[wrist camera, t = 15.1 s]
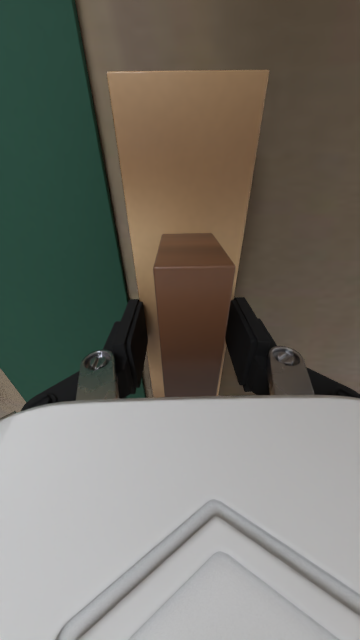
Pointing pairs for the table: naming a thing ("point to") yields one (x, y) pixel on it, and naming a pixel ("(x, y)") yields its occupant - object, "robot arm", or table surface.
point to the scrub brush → (187, 209)
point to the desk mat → (52, 203)
